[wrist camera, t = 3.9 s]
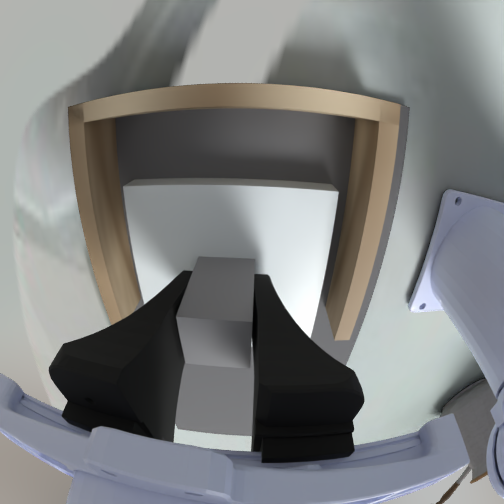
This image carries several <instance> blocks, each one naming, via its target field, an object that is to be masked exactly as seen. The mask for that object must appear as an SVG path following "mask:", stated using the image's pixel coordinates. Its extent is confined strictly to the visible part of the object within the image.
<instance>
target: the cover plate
mask: <svg viewBox="0 0 504 504" xmlns="http://www.w3.org/2000/svg"><path fill="white" fill-rule="evenodd" d="M123 191H124V199H125V207H126V214H127V221H128V227H129V233H130V239H131V245H132V250H133V256H134V261H135V266H136V271H137V275H138V280H139V284H140V289H141V293H142V297H143V301H144V304H146V303H147V302H148V301H149V300H151V299H152V298H153V297H154V296H155V295H157V294H158V293H159V292H160V291H161V290H162V289H163V288H165V287H166V286H167V285H168V284H169V283H170V282H171V281H172V280H173V279H174V278H175V277H177V276H178V275H179V274H180V273H181V272H182V271H183V270H187V271H193V272H192V275H191V277H190V280H189V283H188V285H187V288H186V290H185V293H184V296H183V299H182V301H181V304H180V307H179V309H178V312H177V315H176V319H177V325H178V330H179V335H180V340H181V344H182V349H183V354H184V358H185V363H188V364H197V365H207V366H219V367H234V368H250V363H251V347H252V322H253V296H254V274H268V275H269V276H270V278H271V281H272V284H273V286H274V288H275V290H276V292H277V294H278V296H279V298H280V299H281V301H282V303H283V304H284V306H285V308H286V309H287V311H288V312H289V314H290V315H291V316H292V318H293V319H294V320H295V322H296V323H297V324H298V325H299V327H300V328H301V329H302V330H303V331H304V332H305V333H306V334H307V335H308V336H309V338H311V334H312V330H313V326H314V321H315V317H316V313H317V309H318V304H319V300H320V295H321V290H322V286H323V281H324V276H325V271H326V266H327V261H328V255H329V250H330V244H331V239H332V233H333V227H334V221H335V214H336V208H337V201H338V194H339V192H338V190H337V189H336V188H335V187H334V186H333V185H332V184H324V183H312V182H299V181H284V180H266V179H239V178H160V179H135V180H133V181H131V182H129V183H128V184H126V185H125V186H123Z"/></svg>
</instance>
